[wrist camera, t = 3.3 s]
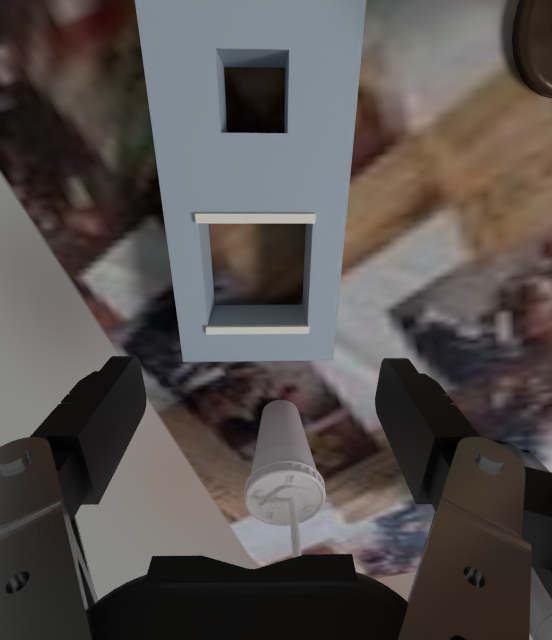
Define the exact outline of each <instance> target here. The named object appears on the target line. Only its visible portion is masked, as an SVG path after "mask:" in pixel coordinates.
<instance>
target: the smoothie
mask: <svg viewBox="0 0 552 640" xmlns="http://www.w3.org/2000/svg"><path fill="white" fill-rule="evenodd" d="M244 491H245V505H246V507H247V509H248V511H249V512H250V513H251V514H252V515H253V516H254V517H256V518H257V519H259V520H261V521H263V522H265V523H268V524H273V525H284V526H285V525H291V539H292V553H293V558H294V557H297V556H301V549H300V538H299V527H298V523H302V522H304V521H307V520H309V519H311V518H312V517H314V516H315V515H316V514H317V513H318V512H319V511H320V510H321V509H322V508H323V506H324V504H325V501H326V492H325V484H324V480H323V478H322V476H321V475H320V473H319V472H318V471H317V470H316V466H315V463H314V460H313V457H312V454H311V451H310V448H309V444H308V441H307V438H306V435H305V432H304V429H303V425H302V422H301V419H300V416H299V413H298V410H297V408H296V406H295V405H294V404H293V403H291V402H289V401H286V400H275V401H272V402H270V403H268V404H267V405H266V406H265V407H264V409H263V412H262V418H261V423H260V428H259V434H258V439H257V444H256V450H255V455H254V460H253V465H252V470H251V475H250V476H249V477H248V479H247V481H246V484H245V486H244Z"/></svg>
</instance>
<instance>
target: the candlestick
mask: <svg viewBox="0 0 552 640" xmlns="http://www.w3.org/2000/svg"><path fill="white" fill-rule="evenodd" d="M512 42H513V55H514V59H515V63H516V66H517V70H518V71H519V73H520V75H521V77H522V79H523V81H524V82H525V83H526V84H527V85H528V86H529V87H530V88H531V89H532V90H533V91H535V92H536V93H538V94H540V95H541V96H545V97H548V98H552V0H520V1H519V3H518V7H517V12H516V16H515V20H514V27H513V38H512Z"/></svg>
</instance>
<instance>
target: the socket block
mask: <svg viewBox="0 0 552 640" xmlns="http://www.w3.org/2000/svg"><path fill="white" fill-rule="evenodd" d="M366 1H367V0H135V5H136V12H137V20H138V27H139V35H140V42H141V50H142V57H143V65H144V72H145V80H146V87H147V95H148V102H149V110H150V117H151V125H152V132H153V140H154V147H155V154H156V162H157V169H158V177H159V184H160V192H161V199H162V207H163V214H164V222H165V229H166V237H167V244H168V252H169V259H170V267H171V274H172V282H173V289H174V297H175V304H176V312H177V319H178V327H179V334H180V342H181V349H182V356H183V362H219V361H309V360H333V354H334V343H335V333H336V322H337V311H338V301H339V290H340V279H341V268H342V258H343V247H344V236H345V226H346V215H347V204H348V193H349V183H350V172H351V161H352V151H353V140H354V129H355V118H356V108H357V97H358V86H359V76H360V65H361V54H362V43H363V33H364V22H365V11H366ZM224 67H249V68H285V115H284V133H227V121H226V100H225V80H224ZM208 223H306V232H305V255H304V278H303V301H302V305H215V301H214V288H213V276H212V263H211V250H210V238H209V225H208Z"/></svg>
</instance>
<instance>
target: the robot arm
mask: <svg viewBox="0 0 552 640" xmlns="http://www.w3.org/2000/svg"><path fill="white" fill-rule="evenodd" d="M375 407H376V412H377V416H378V418H379V420H380V423H381V425H382V427H383V430H384V432H385V434H386V436H387V439H388V441H389V443H390V446H391V448H392V450H393V452H394V455H395V457H396V459H397V462H398V464H399V466H400V468H401V471H402V473H403V475H404V478H405V480H406V482H407V484H408V487H409V489H410V491H411V494H412V496H413V498H414V501H415V503H416V504H432V505H433V507H434V510H435V515H434V518H433V521H432V524H431V528H430V531H429V534H428V537H427V540H426V544H425V547H424V550H423V553H422V556H421V559H420V563H419V566H418V569H417V572H416V575H415V579H414V582H413V585H412V588H411V591H410V594H409V597H408V601H406V600H405V599H404V598H402V597H401V596H400V595H399V594H397V593H396V592H395V591H393V590H392V589H390V588H389V587H388V586H386V585H384V584H382V583H381V582H378V581H377V580H375V579H373V578H371V577H368V576H366V575H364V574H360V573H357V572H356V571H355V566H354V561H353V557H352V554H321V555H301V556H297V557H294V558H291V559H288V560H284V561H281V562H278V563H274V564H271V565H268V566H264V567H261V568H258V569H246V568H243V567H240V566H236V565H233V564H229V563H226V562H222V561H218V560H215V559H212V558H208V557H204V556H152V559H151V563H150V566H149V569H148V573H147V575H144V576H141V577H139V578H136V579H134V580H132V581H129V582H127V583H125V584H123V585H122V586H120V587H118V588H116V589H114V590H113V591H111V592H110V593H109V594H107V595H105V596H104V597H102V598H101V599H100V600H98V598H97V595H96V592H95V589H94V585H93V582H92V578H91V574H90V571H89V566H88V562H87V559H86V555H85V551H84V547H83V544H82V540H81V536H80V532H79V528H78V524H77V521H76V518H75V515H76V513H77V511H78V509H79V507H80V506H81V505H82V504H84V505H85V504H99V502H100V500H101V498H102V496H103V494H104V492H105V490H106V488H107V486H108V484H109V482H110V481H111V479H112V476H113V475H114V473H115V470H116V469H117V466H118V465H119V463H120V461H121V459H122V457H123V455H124V452H125V451H126V449H127V447H128V445H129V443H130V441H131V439H132V437H133V435H134V433H135V431H136V429H137V427H138V425H139V423H140V421H141V419H142V417H143V415H144V412H145V408H146V392H145V386H144V380H143V375H142V369H141V363H140V360H139V358H138V357H136V356H113V357H111V358H110V359H109V360H108V361H107V363H106V364H105V365H104V366H103V367H102V369H101V370H100V371H99V372H98V371H94V372H93V373H91V374H90V375H88V376H86V377H85V378H83V379H82V380H80V381H79V382H78V383H77V384H76V385H75V386H74V388H73V389H72V390H71V391H70V392H69V394H68V395H66V397H65V398H64V399H63V400H62V401H61V404H59V405H58V406H57V407H56V408H55V409H54V410H53V411H52V412H51V414H50V415H49V416H48V417H47V418H46V419H45V420H44V422H43V423H42V424H41V425H40V426H39V427H38V428H37V429H36V431H35V432H34V433H33V434H32V435H31V436H30V437H28V438H22V439H18V440H15V441H12V442H9V443H7V444H5V445H3V446H1V447H0V640H529V633H530V635H531V637H532V639H533V640H552V473H551V472H550V471H549V470H548V469H547V468H546V467H545V466H544V465H543V464H542V463H541V462H540V460H539V459H538V458H537V457H536V456H535V455H534V454H533V453H532V452H523V451H521V450H520V449H518V448H517V447H515V446H512V445H510V444H503V443H497V442H494V441H492V440H489V439H486V438H481V437H480V436H479V434H478V433H477V432H476V430H475V429H474V428H473V427H472V425H471V424H470V423H469V422H468V420H467V419H466V418H465V416H464V415H463V414H462V413H461V411H460V410H459V409H458V407H457V406H454V402H453V401H452V400H451V399H450V397H449V396H447V393H446V392H445V391H444V390H443V388H442V387H441V386H440V384H439V383H438V382H436V381H435V380H433V379H432V378H430V377H429V376H427V375H426V374H419V373H418V371H417V370H416V368H415V367H414V366H413V364H412V363H411V362H410V360H409V359H407V358H385V359H383V361H382V363H381V368H380V374H379V379H378V385H377V391H376V397H375Z"/></svg>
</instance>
